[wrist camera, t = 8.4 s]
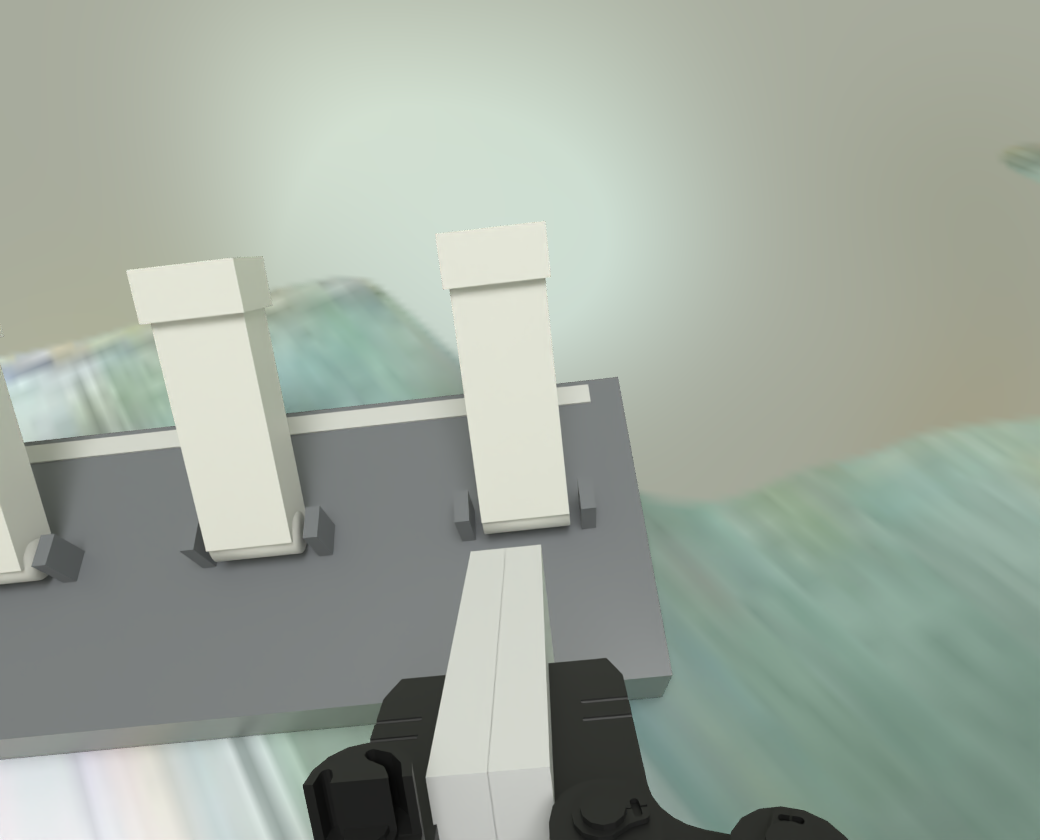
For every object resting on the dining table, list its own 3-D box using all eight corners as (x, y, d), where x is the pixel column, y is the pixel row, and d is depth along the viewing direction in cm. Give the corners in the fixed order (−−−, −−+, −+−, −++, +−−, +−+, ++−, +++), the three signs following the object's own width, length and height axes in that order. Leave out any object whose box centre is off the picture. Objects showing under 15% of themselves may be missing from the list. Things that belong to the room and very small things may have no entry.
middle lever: (297, 566, 28) (232, 257, 25) (201, 576, 29) (126, 270, 26) (318, 536, 31) (262, 256, 28) (231, 545, 31) (166, 267, 28)
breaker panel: (661, 696, 30) (678, 662, 25) (-67, 765, 31) (-210, 748, 26) (615, 424, 38) (619, 351, 32) (26, 488, 39) (-69, 427, 33)
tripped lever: (577, 537, 28) (545, 220, 25) (478, 548, 28) (435, 233, 25) (572, 509, 31) (543, 222, 28) (483, 519, 31) (444, 234, 28)
